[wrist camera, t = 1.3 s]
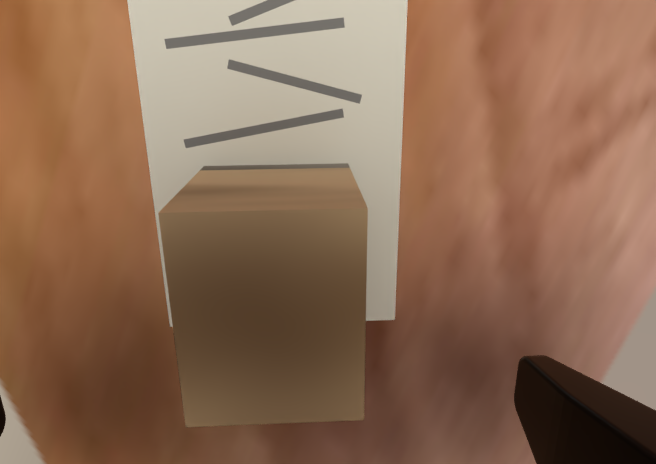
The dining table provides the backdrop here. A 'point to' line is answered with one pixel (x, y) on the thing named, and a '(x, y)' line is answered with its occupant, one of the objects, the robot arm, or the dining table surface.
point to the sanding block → (268, 293)
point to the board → (278, 100)
